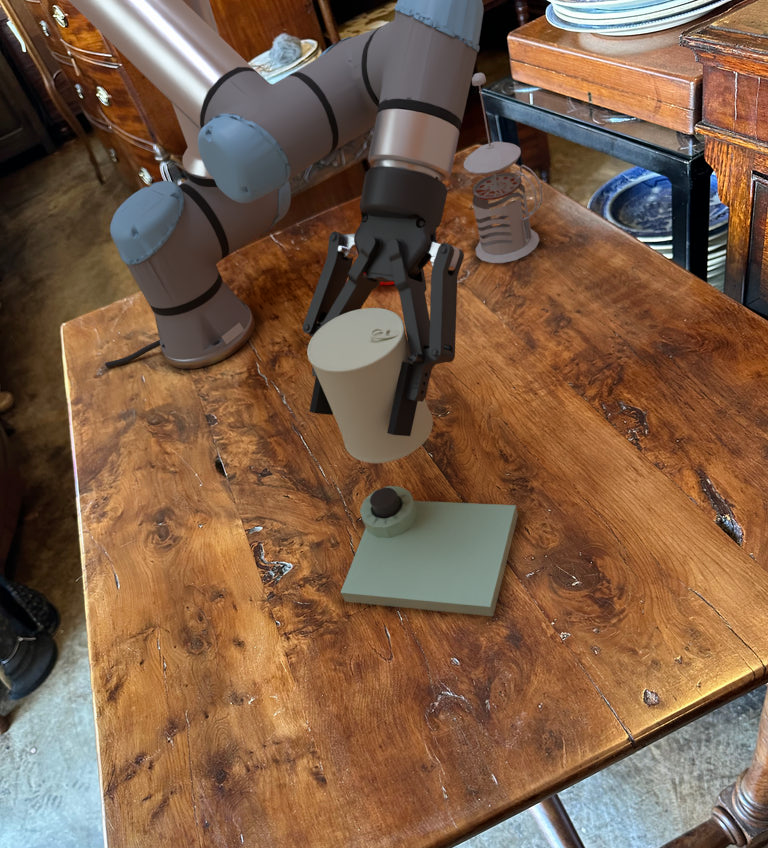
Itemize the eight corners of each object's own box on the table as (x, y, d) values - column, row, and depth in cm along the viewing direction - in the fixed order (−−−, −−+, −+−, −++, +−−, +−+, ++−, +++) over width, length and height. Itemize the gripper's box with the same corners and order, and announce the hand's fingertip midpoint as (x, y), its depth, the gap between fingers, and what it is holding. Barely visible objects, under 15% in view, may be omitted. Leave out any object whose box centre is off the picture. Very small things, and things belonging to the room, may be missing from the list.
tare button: (370, 518, 86) (366, 507, 84) (378, 497, 87) (374, 486, 86) (396, 519, 84) (392, 508, 83) (404, 498, 86) (400, 487, 85)
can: (425, 461, 75) (392, 361, 66) (335, 466, 78) (292, 371, 69) (439, 396, 80) (411, 296, 72) (355, 403, 83) (318, 308, 75)
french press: (494, 224, 125) (464, 58, 108) (561, 230, 119) (541, 54, 101) (463, 259, 121) (426, 91, 103) (531, 267, 115) (504, 90, 97)
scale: (341, 601, 83) (330, 581, 81) (378, 505, 91) (369, 485, 88) (493, 616, 77) (487, 596, 74) (519, 512, 85) (514, 490, 82)
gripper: (533, 194, 68) (474, 451, 72) (342, 183, 79) (301, 404, 84) (492, 166, 61) (431, 448, 66) (292, 158, 73) (251, 398, 78)
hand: (358, 423), depth 75 cm, fingers closed on can, 9 cm apart
